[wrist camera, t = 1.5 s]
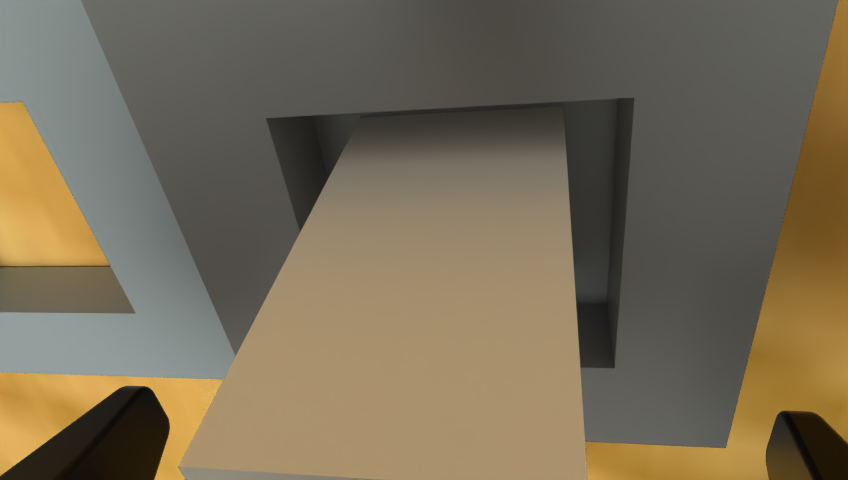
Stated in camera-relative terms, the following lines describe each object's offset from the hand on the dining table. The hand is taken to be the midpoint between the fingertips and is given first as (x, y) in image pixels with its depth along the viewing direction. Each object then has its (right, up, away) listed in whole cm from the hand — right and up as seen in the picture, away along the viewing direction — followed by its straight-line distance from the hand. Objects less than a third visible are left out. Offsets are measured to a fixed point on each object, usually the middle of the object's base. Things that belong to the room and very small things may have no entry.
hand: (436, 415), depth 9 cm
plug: (+1, +3, +4) cm, 6 cm away
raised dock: (+1, +4, +6) cm, 7 cm away
